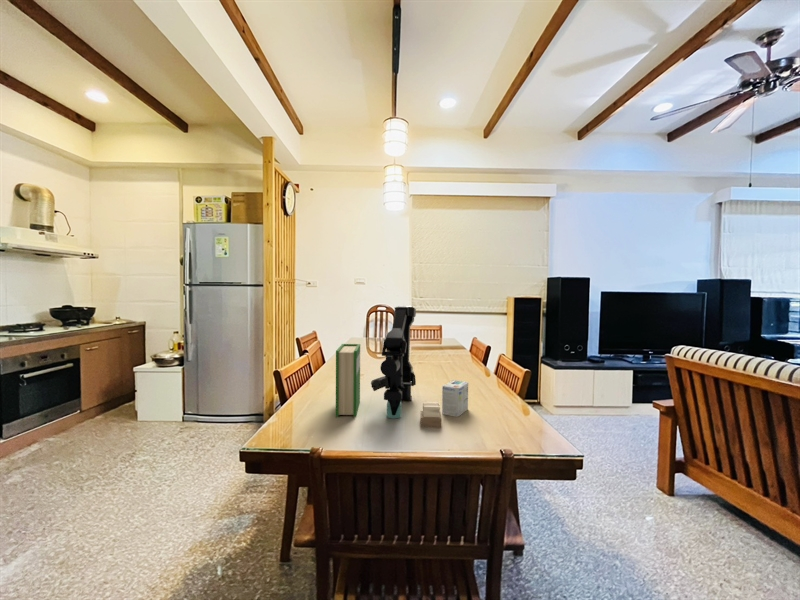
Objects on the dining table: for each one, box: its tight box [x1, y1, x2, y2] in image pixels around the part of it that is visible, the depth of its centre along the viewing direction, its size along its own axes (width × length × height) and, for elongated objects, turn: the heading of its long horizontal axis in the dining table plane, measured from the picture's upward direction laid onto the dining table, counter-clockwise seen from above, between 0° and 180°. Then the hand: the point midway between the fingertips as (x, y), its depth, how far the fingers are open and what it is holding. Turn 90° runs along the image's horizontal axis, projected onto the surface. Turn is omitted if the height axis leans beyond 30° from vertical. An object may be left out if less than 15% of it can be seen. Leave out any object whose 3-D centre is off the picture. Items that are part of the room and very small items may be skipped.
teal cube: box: [386, 400, 402, 419], centre depth 132 cm, size 5×5×5 cm
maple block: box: [422, 401, 441, 417], centre depth 124 cm, size 6×6×4 cm
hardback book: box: [335, 343, 361, 418], centre depth 139 cm, size 18×7×24 cm, turn 2°
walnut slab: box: [419, 410, 443, 429], centre depth 124 cm, size 7×7×4 cm
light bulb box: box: [441, 379, 469, 418], centre depth 137 cm, size 11×7×11 cm, turn 149°
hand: (394, 412), depth 132 cm, fingers closed on teal cube, 5 cm apart
